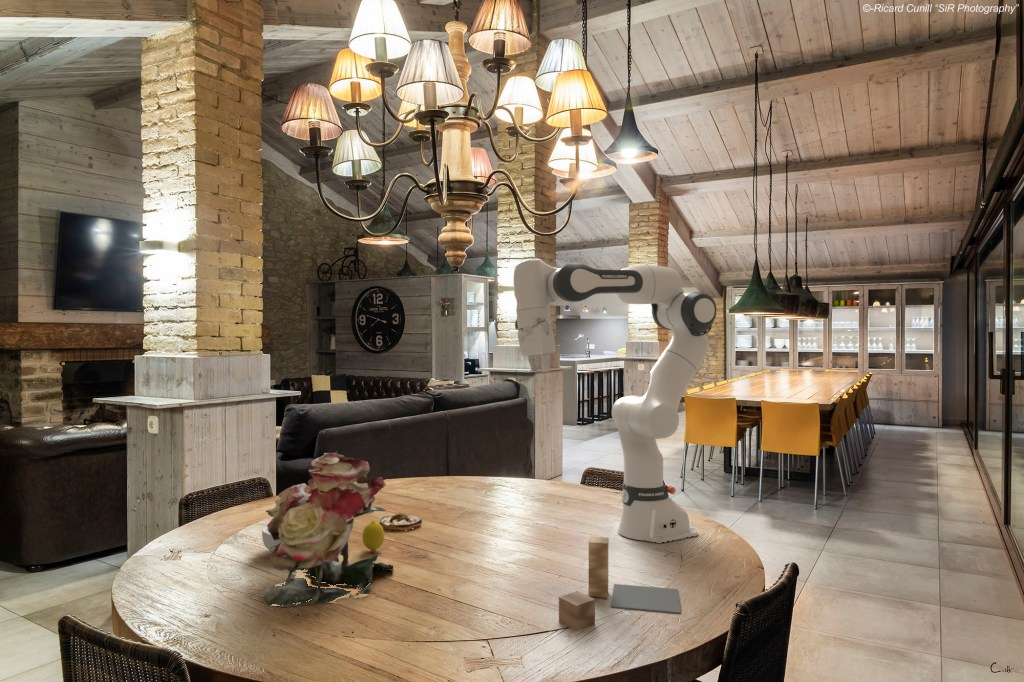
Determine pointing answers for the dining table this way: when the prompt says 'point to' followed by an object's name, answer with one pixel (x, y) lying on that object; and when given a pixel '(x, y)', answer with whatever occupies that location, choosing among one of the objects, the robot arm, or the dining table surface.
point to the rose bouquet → (322, 531)
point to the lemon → (373, 536)
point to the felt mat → (646, 598)
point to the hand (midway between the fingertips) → (540, 371)
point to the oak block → (598, 567)
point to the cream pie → (400, 522)
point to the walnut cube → (577, 610)
